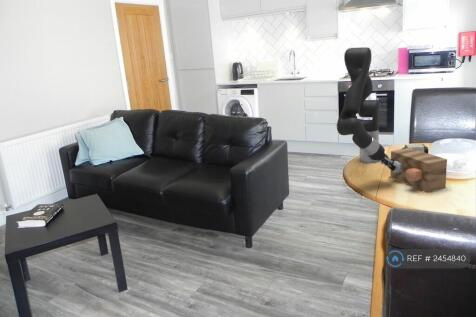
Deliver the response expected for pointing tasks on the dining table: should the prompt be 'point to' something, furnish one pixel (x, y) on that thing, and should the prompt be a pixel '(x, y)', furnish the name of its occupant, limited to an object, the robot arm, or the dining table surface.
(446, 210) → the dining table surface
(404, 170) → the socket block
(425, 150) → the pneumatic valve
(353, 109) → the robot arm
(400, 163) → the grey plug
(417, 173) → the terracotta plug
